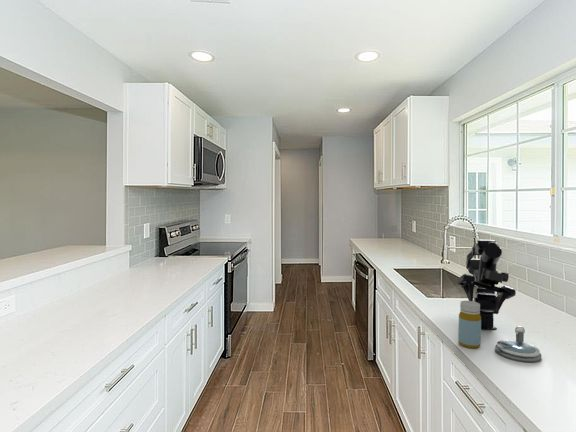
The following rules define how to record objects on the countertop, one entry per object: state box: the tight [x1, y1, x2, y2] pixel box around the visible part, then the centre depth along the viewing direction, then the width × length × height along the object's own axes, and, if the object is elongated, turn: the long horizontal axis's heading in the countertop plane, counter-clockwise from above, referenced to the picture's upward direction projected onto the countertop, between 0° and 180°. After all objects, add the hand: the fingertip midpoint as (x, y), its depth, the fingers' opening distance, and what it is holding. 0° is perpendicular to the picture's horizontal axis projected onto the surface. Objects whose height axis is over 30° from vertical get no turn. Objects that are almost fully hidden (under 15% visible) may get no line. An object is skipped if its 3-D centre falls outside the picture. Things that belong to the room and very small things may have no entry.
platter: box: [496, 339, 541, 358], centre depth 120 cm, size 12×12×1 cm
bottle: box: [457, 300, 482, 350], centre depth 127 cm, size 7×7×15 cm
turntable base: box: [494, 325, 542, 364], centre depth 120 cm, size 13×13×7 cm
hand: (484, 307), depth 131 cm, fingers open, 9 cm apart
